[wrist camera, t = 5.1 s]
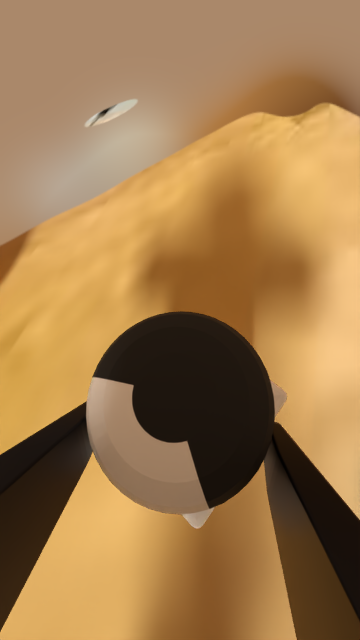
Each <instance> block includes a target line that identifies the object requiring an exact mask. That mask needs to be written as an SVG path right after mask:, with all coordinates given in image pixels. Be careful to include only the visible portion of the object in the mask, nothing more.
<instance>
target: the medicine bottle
mask: <svg viewBox="0 0 360 640" xmlns="http://www.w3.org/2000/svg"><path fill="white" fill-rule="evenodd" d="M286 399H287V394H286V392H285V391H284V390H283V389H282V388H280V387H279V386H278V385H276V384H275V383H274V382H272V381H271V380H270V379H269V376H268V373H267V370H266V368H265V366H264V364H263V362H262V360H261V358H260V357H259V355H258V354H257V353H256V351H255V350H254V348H253V347H252V346H251V345H250V343H249V342H248V341H247V340H246V339H245V338H244V337H243V336H242V335H241V334H239V333H238V332H237V331H236V330H235V329H233V328H232V327H230V326H229V325H227V324H225V323H224V322H222V321H219V320H217V319H215V318H213V317H210V316H207V315H204V314H199V313H193V312H169V313H164V314H159V315H156V316H153V317H150V318H147V319H145V320H143V321H141V322H139V323H137V324H135V325H134V326H132V327H130V328H129V329H128V330H126V331H125V332H124V333H123V334H121V335H120V336H119V337H118V338H117V339H116V340H115V341H114V342H113V343H112V344H111V346H110V347H109V348H108V350H107V351H106V352H105V354H104V355H103V357H102V358H101V360H100V362H99V364H98V365H97V368H96V370H95V372H94V375H93V377H92V380H91V384H90V387H89V391H88V397H87V406H86V421H87V431H88V435H89V440H90V444H91V447H92V450H93V452H94V455H95V458H96V460H97V461H98V463H99V465H100V467H101V469H102V471H103V472H104V473H105V475H106V476H107V477H108V479H109V480H110V481H111V483H112V484H113V485H114V486H115V487H116V488H117V489H119V490H120V491H121V492H122V493H123V494H124V495H126V496H127V497H128V498H130V499H131V500H133V501H134V502H136V503H138V504H140V505H142V506H144V507H146V508H148V509H152V510H155V511H159V512H162V513H171V514H181V515H182V516H183V517H184V518H185V519H186V520H187V521H188V522H189V524H190V525H191V526H192V527H194V528H200V527H201V526H203V525H204V523H205V522H206V520H207V519H208V517H209V516H210V514H211V513H212V511H213V510H214V508H215V507H216V506H218V505H220V504H222V503H224V502H226V501H227V500H229V499H230V498H232V497H233V496H235V495H236V494H237V493H238V492H239V491H241V490H242V489H243V488H244V487H245V486H246V485H247V484H248V483H249V482H250V480H251V479H252V478H253V476H254V475H255V474H256V472H257V471H258V470H259V468H260V466H261V464H262V462H263V460H264V458H265V457H266V454H267V451H268V448H269V446H270V443H271V439H272V434H273V429H274V420H275V416H276V415H277V413H278V412H279V410H280V409H281V407H282V406H283V404H284V403H285V401H286Z"/></svg>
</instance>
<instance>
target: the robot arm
mask: <svg viewBox="0 0 360 640" xmlns="http://www.w3.org/2000/svg"><path fill="white" fill-rule="evenodd" d="M86 406H87V401H86V402H85V403H83V404H82V405H80V406H78V407H77V408H75V409H73V410H72V411H70V412H69V413H67V414H65V415H64V416H62V417H61V418H59V419H57V420H56V421H54V422H52V423H51V424H49V425H48V426H46V427H44V428H43V429H41V430H40V431H38V432H36V433H35V434H33V435H32V436H30V437H28V438H27V439H25V440H23V441H22V442H20V443H19V444H17V445H15V446H14V447H12V448H11V449H9V450H7V451H6V452H4V453H3V454H1V455H0V631H1V629H2V627H3V625H4V624H5V622H6V620H7V618H8V616H9V614H10V612H11V610H12V608H13V606H14V604H15V602H16V600H17V598H18V597H19V595H20V593H21V591H22V589H23V587H24V585H25V583H26V581H27V579H28V577H29V575H30V573H31V572H32V570H33V568H34V566H35V564H36V562H37V560H38V558H39V556H40V554H41V552H42V550H43V548H44V546H45V545H46V543H47V541H48V539H49V537H50V535H51V533H52V531H53V529H54V527H55V525H56V523H57V521H58V519H59V518H60V516H61V514H62V512H63V510H64V508H65V506H66V504H67V502H68V500H69V498H70V496H71V494H72V492H73V491H74V489H75V487H76V485H77V483H78V481H79V479H80V477H81V475H82V473H83V471H84V469H85V467H86V465H87V463H88V461H89V459H90V457H91V454H92V452H93V450H92V447H91V444H90V440H89V435H88V431H87V421H86ZM264 465H265V476H266V486H267V494H268V499H269V505H270V510H271V515H272V519H273V524H274V529H275V534H276V539H277V544H278V549H279V554H280V559H281V564H282V569H283V574H284V579H285V584H286V588H287V593H288V598H289V603H290V608H291V613H292V618H293V623H294V628H295V633H296V638H297V640H360V520H359V519H358V517H357V516H356V515H355V514H354V513H353V511H352V510H351V509H350V508H349V506H348V505H347V504H346V503H345V502H344V500H343V499H342V498H341V497H340V496H339V494H338V493H337V492H336V491H335V490H334V488H333V487H332V486H331V485H330V484H329V482H328V481H327V480H326V479H325V478H324V476H323V475H322V474H321V473H320V471H319V470H318V469H317V468H316V467H315V465H314V464H313V463H312V462H311V461H310V459H309V458H308V457H307V456H306V455H305V453H304V452H303V451H302V450H301V449H300V447H299V446H298V445H297V444H296V443H295V441H294V440H293V439H292V438H291V436H290V435H289V434H288V433H287V432H286V430H285V429H284V428H283V427H282V426H281V424H279V423H277V422H274V429H273V434H272V439H271V443H270V446H269V448H268V451H267V454H266V457H265V458H264Z"/></svg>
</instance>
